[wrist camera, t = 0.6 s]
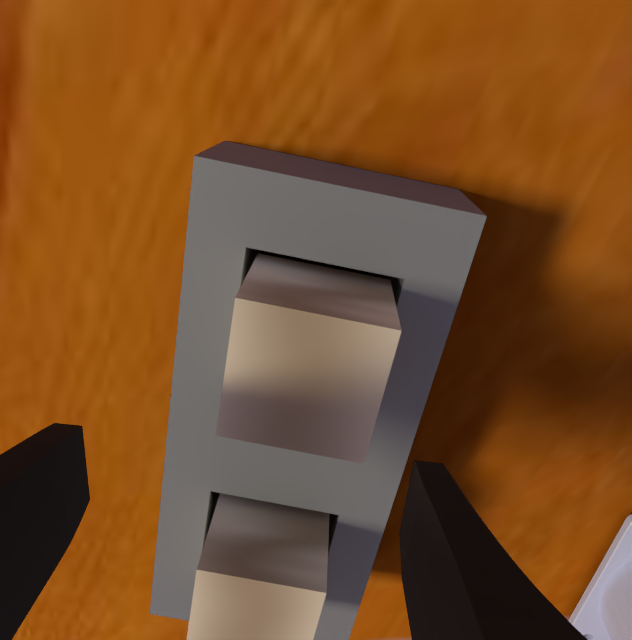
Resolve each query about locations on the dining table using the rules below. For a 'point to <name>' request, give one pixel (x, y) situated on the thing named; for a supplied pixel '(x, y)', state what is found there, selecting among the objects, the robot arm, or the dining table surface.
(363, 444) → the near peg
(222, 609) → the far peg
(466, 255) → the grey peg hole board
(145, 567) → the dining table surface
